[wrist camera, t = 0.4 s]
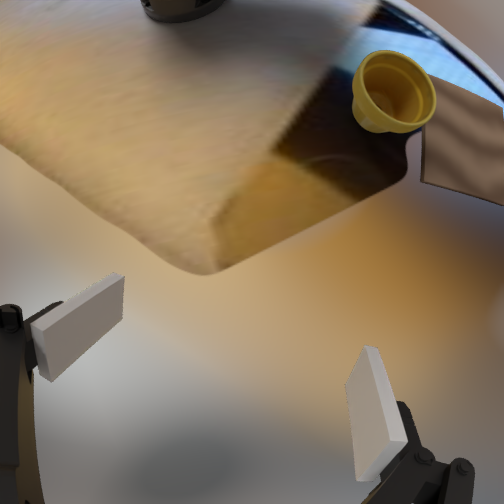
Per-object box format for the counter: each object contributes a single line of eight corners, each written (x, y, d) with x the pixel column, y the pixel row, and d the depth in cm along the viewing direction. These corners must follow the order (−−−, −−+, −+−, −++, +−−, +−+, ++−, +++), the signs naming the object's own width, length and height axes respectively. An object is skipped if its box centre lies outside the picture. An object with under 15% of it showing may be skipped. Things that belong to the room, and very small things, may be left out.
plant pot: (396, 81, 37) (423, 52, 28) (412, 144, 38) (446, 127, 29) (332, 80, 38) (349, 47, 28) (347, 147, 39) (370, 127, 29)
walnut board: (419, 75, 37) (422, 72, 36) (498, 109, 37) (502, 107, 35) (420, 182, 39) (424, 181, 38) (501, 205, 38) (505, 205, 37)
